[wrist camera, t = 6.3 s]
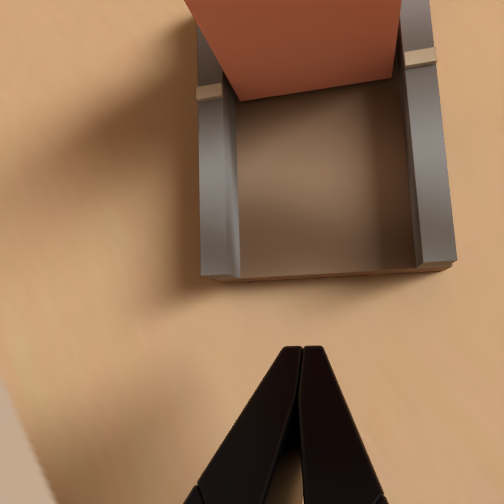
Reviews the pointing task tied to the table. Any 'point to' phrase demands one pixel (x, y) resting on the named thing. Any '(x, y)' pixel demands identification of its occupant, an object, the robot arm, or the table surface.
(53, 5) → the table surface
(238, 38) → the pink upright rectangular block
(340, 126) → the rail housing
